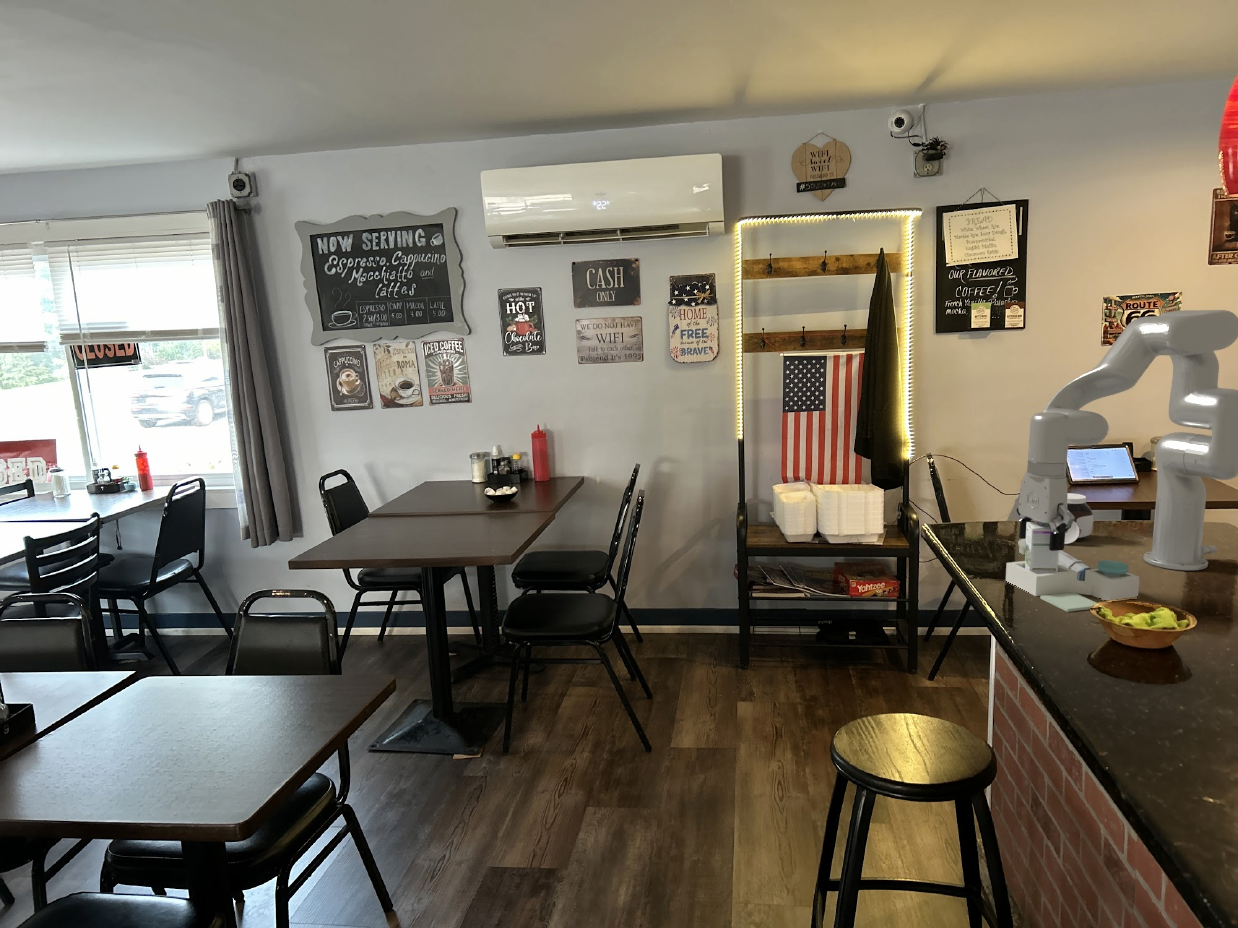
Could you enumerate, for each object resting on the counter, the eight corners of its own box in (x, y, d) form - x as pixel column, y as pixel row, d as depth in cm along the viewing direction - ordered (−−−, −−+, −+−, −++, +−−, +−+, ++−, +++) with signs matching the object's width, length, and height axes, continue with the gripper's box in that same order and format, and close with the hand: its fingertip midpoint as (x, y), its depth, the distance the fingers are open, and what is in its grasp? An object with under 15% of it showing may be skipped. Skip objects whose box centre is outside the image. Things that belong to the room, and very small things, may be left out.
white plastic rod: (1076, 568, 175) (1016, 525, 198) (1072, 594, 177) (1012, 548, 200) (1099, 566, 175) (1035, 524, 198) (1094, 593, 177) (1032, 547, 201)
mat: (1073, 594, 169) (1073, 592, 169) (1101, 607, 161) (1101, 604, 161) (1040, 598, 167) (1040, 595, 167) (1067, 611, 160) (1067, 608, 160)
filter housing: (1076, 573, 182) (1078, 553, 181) (1137, 599, 165) (1139, 576, 164) (1005, 581, 179) (1006, 560, 178) (1060, 608, 162) (1061, 585, 161)
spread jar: (1081, 533, 212) (1084, 492, 210) (1102, 545, 201) (1105, 502, 199) (1035, 534, 214) (1038, 493, 212) (1054, 546, 203) (1056, 503, 201)
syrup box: (1057, 591, 171) (1061, 528, 168) (1028, 590, 173) (1031, 527, 170) (1050, 582, 176) (1054, 521, 174) (1022, 581, 178) (1025, 520, 175)
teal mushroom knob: (1111, 586, 170) (1113, 559, 169) (1132, 594, 165) (1134, 566, 164) (1089, 588, 170) (1091, 561, 168) (1109, 597, 164) (1111, 569, 163)
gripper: (1005, 463, 177) (1000, 535, 180) (1059, 477, 161) (1053, 556, 164) (1034, 461, 179) (1029, 532, 182) (1091, 475, 162) (1084, 553, 165)
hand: (1040, 543), depth 173 cm, fingers open, 9 cm apart
